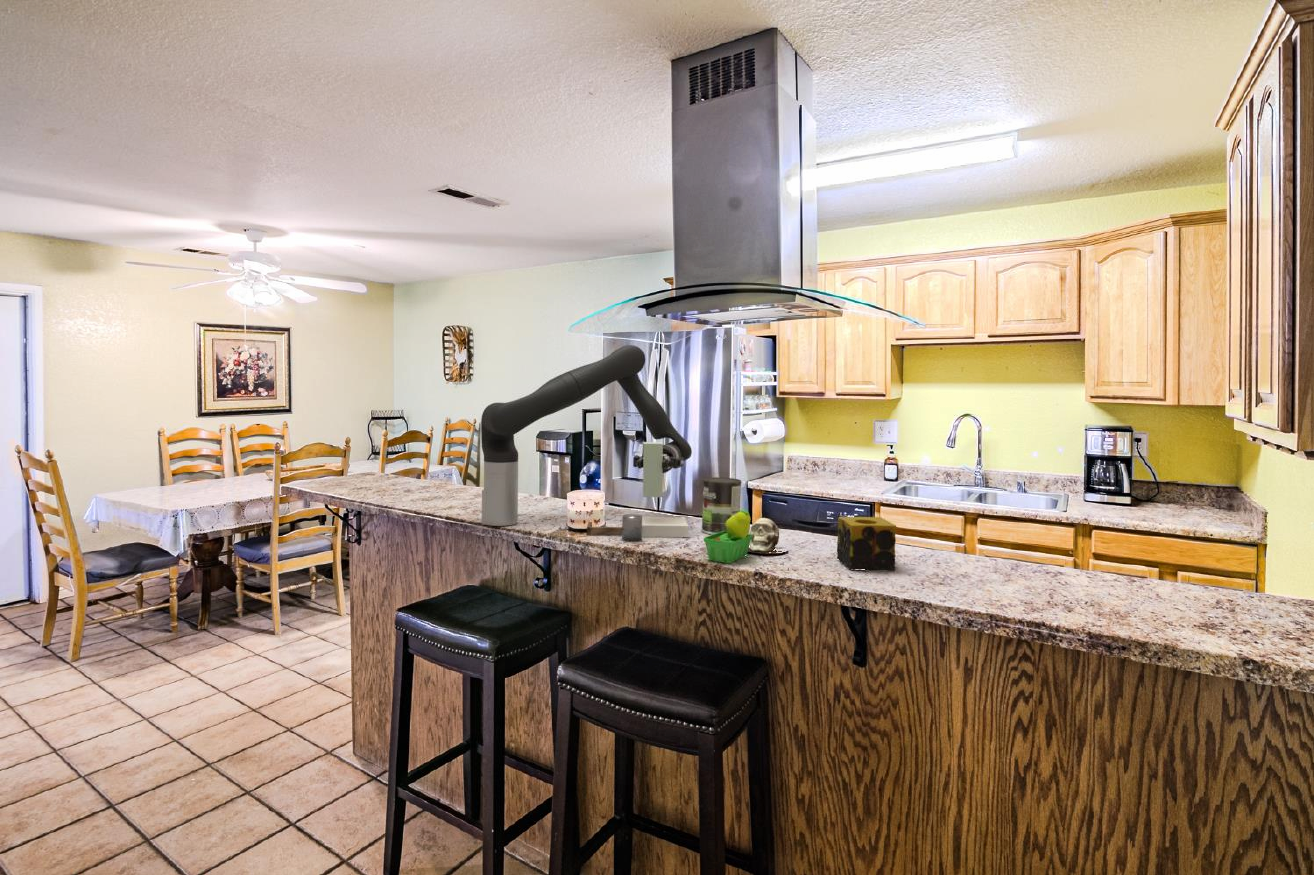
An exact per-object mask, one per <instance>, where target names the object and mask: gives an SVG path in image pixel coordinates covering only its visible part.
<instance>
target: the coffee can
mask: <svg viewBox="0 0 1314 875" xmlns="http://www.w3.org/2000/svg"><path fill="white" fill-rule="evenodd" d="M702 483H703V484H702V485H703V488H702V515H701V516H702V518H701V520H702V521H701V532H702V533H703V532H704V533H703V534H707V535H713V534H716V533H719V532H721V531H727V529H726V526H725V523H726V521H727V520H728V519H730V517H732V516H734V515H735V514H737V513H738V512H739V511H740V510H741V499H742V498H741V497H742V496H741V492H742V483H743V482H742V480H741V479H738V478H732V477H704V478H703V479H702Z"/></svg>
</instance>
